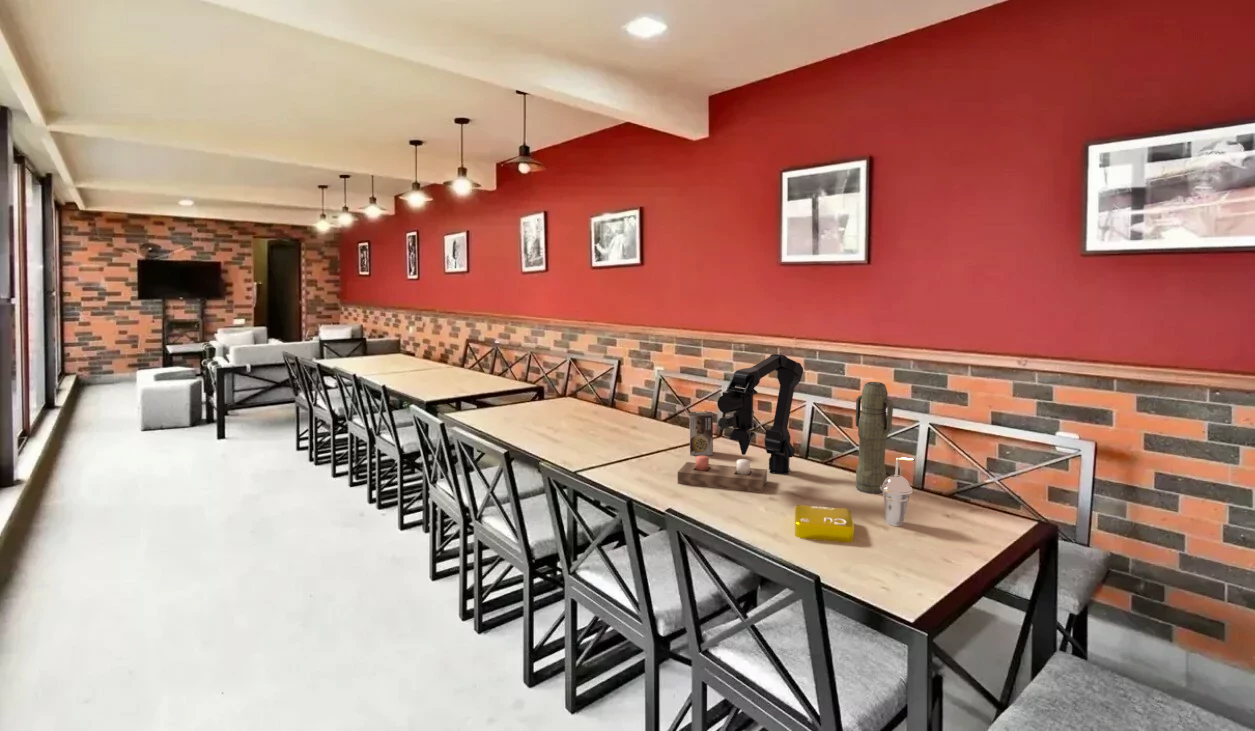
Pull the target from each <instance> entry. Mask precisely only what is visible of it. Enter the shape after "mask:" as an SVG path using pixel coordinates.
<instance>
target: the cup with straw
mask: <svg viewBox="0 0 1255 731" xmlns="http://www.w3.org/2000/svg"><path fill="white" fill-rule="evenodd" d="M899 461H908V462H909V461H910V462H915V458H911V457H903V456H902V457H901V456H898V457H896V459H895V468H894V470H895V471H894V474H891V475H888V476H887V477H886V479H885V480H884V482H883V483H882V484H881V485H880V489H881V490H882V491H883V493H882V496H883V504H884V515H885V523H886V524H887V525H889V526H893V527H901V526H904V521H905V518H906V517H905V516H906V512H907V506H908V501H909V498H910V495H911V494H912V493H913V492H914V491H913V487H912V486H910V482H909V481H908V479H906V478H905V477H904V476H902V475H899Z"/></svg>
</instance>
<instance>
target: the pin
mask: <svg viewBox="0 0 1255 731" xmlns="http://www.w3.org/2000/svg"><path fill="white" fill-rule="evenodd" d="M736 467H737V474H738V475H749V474H750V468H751V461H750V459H745V458H741V459H737V460H736Z"/></svg>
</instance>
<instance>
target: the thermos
mask: <svg viewBox="0 0 1255 731" xmlns="http://www.w3.org/2000/svg"><path fill="white" fill-rule="evenodd" d="M888 393H889V392H888V390H887V386H886V384H884V383H883V382H879V381H869V382H868V381H867V382H866V383H865V384H864V386H863V388H862V391H861V395H858V396H857V398H856V399H855V401H856V402H855V403H856V405H855V426H856V427H857V436H858V439H859V441H858V442H859V445H858V446H859V447H858V464H857V466H856V470H855V471H856V472H855V474H856V475H855V481H856V485H855V489H856V488H857V489H856V490H857V491H859V492H862V493H865V494H870V495H872V494H873V495H879V494H880V495H881V494H883V491H882V490H881V489H880V485H881V484H882V483H883V482H884V480H885V479H886V478H887V477H886V476H887V469H886V467H885V465H886V464H885V461H886V443H887V442H886V440H887V439H888V436H889V435H888V433H890V431H892V427H893V426H892V425H893V424H892V422H893V414H894V404H893V402H892V400H891V399H888Z"/></svg>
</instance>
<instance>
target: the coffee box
mask: <svg viewBox="0 0 1255 731" xmlns="http://www.w3.org/2000/svg"><path fill="white" fill-rule="evenodd" d="M689 456H714V415H713V411H690V412H689Z"/></svg>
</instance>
